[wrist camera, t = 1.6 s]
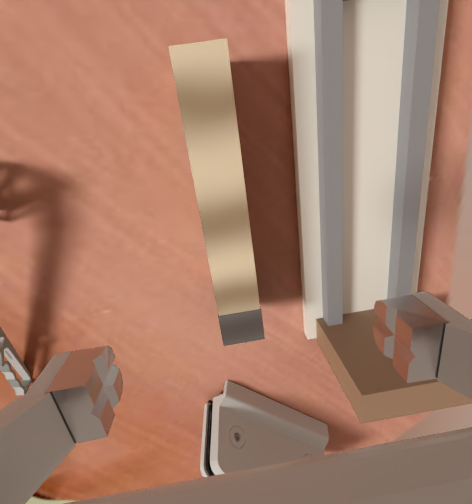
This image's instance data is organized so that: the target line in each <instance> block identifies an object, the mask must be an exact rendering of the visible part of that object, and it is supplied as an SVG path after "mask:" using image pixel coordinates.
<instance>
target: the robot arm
mask: <svg viewBox="0 0 472 504" xmlns="http://www.w3.org/2000/svg"><path fill="white" fill-rule="evenodd" d="M374 313H375V314H376V316H377V317H378V319H377V320H376V322H375V323H374V324H373V335H374V338H375V342H376V344H377V346H378V348H379V350H380V351H381V352H382V353H383V355H385V356H387V357H389V358H391V359H393V367H394V368H395V369H396V371H397V372H398V373H399V374H400V375H401V377H402V378H403V379H404V380H405V381H406V383H411V382H418V381H424V380H431V379H437V380H438V381H440V382H441V383H443V384H445V385H447V386H448V387H450V388H452V389H454V390H455V391H457V392H459V393H461V394H463V395H464V396H466V397H468V398H470V399H471V400H472V319H471V320H469V319H467V318H466V317H464V316H463V315H461V314H460V313H459V312H457V311H455V310H454V309H453V308H451V307H450V306H448V305H447V304H445V303H444V302H443V301H441V300H440V299H438V298H437V297H435V296H434V295H432V294H431V293H429V292H425V291H423V292H418V293H413V294H408V295H405V296H400V297H394V298H389V299H383V300H378V301H376V302H375V305H374ZM114 358H115V355H114V352H113V350H112V348H111V347H109V346H102V347H96V348H89V349H82V350H75V351H69V352H63V353H58V354H56V355H54V356H53V357H52V358H51V360H50V361H49V362H48V364H47V365H46V367H45V368H44V369H43V371H42V372H41V373H40V375H39V376H38V378H37V379H36V380H35V382H34V383H33V384H32V386H31V387H30V389H29V390H28V391H27V393H26V394H25V395H24V397H21V398H17V399H15V400H14V401H13V402H11V403H10V404H8V405H7V406H5V407H4V408H3V409H1V410H0V504H25V503H26V502H27V501H28V500H29V499H30V498H31V496H32V495H33V494H34V493H35V492H36V491H37V489H38V488H39V487H40V486H41V485H42V484H43V482H44V481H45V480H46V479H47V478H48V477H49V476H50V474H51V473H52V472H53V471H54V470H55V469H56V467H57V466H58V465H59V464H60V463H61V462H62V461H63V459H64V458H65V457H66V456H67V455H68V454H69V452H70V451H71V450H72V449H73V448H74V447H75V444H77V443H81V442H86V441H91V440H96V439H100V438H105V437H108V434H109V431H110V428H111V425H112V422H113V419H114V416H115V414H114V412H113V408H114V407H115V406H116V405H117V404H118V403H119V401H120V398H121V395H122V388H123V380H122V374H121V371H120V368H118V367H117V366H115V365H114V364H112V363H113V361H114ZM65 504H472V427H471V428H466V429H460V430H455V431H450V432H445V433H439V434H433V435H428V436H423V437H418V438H412V439H407V440H401V441H396V442H391V443H385V444H380V445H375V446H369V447H364V448H358V449H353V450H348V451H342V452H337V453H332V454H326V455H321V456H316V457H310V458H305V459H300V460H294V461H289V462H284V463H278V464H273V465H268V466H262V467H257V468H251V469H246V470H241V471H235V472H230V473H225V474H219V475H214V476H209V477H203V478H198V479H193V480H187V481H182V482H177V483H171V484H166V485H161V486H155V487H150V488H145V489H139V490H134V491H129V492H123V493H118V494H113V495H107V496H102V497H97V498H91V499H86V500H81V501H75V502H70V503H65Z"/></svg>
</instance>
